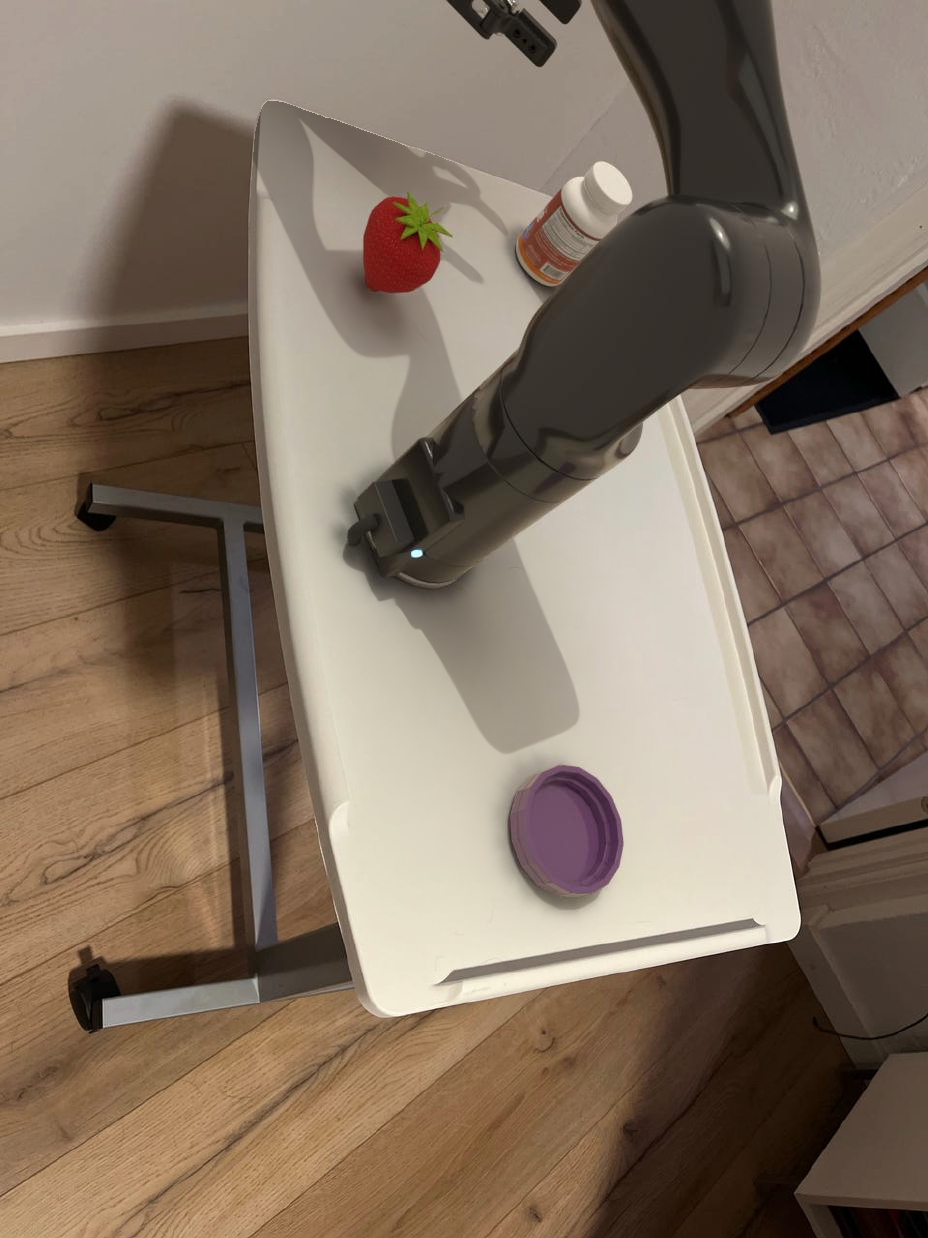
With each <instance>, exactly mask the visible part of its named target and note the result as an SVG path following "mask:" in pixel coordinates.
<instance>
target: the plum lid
mask: <svg viewBox="0 0 928 1238" xmlns="http://www.w3.org/2000/svg"><path fill="white" fill-rule="evenodd" d="M509 820H510V835H511V843H512V847H513V848H514V852H515V854H516V856H517V859H518V862H519V864H520V867H521V868H522V869H523V870H524V871H525V872H526V874H527V875H528V876H529V878H530V879H531V881H533V882H534V884H535V885H536V886H537V887H539V888H540V889H542V890H544V891H546V892H548V893H550V894H552V895H553V896H555V897H565V898H566V897H567V898H568V897H571V898H576V897H577V898H578V897H582V896H588V895H592V894H594V893H596V892H598V891H599V890H601V889H603V888H605V887H606V886H608V885H609V884H610V882H611V881H612V879H613V877H614V876H615V874H616V873H617V872H618V870H619V868H620V865H621V862H622V861H621V860H622V855H623V850H624V845H625V844H624V843H625V842H624V841H625V840H624V833H623V825H622V818H621V815H620V813H619V811H618V809H617V806H616V803H615V802H614V798H613V796H612V795H611V794H610V792H609V791H608V789H606V787H605V786H604V784H602V782H601V781H600V780H599V778H597V777H596V776H594V775H593V774H592V773H589V772H588V771H587V770H585V769H583V768H581V767H580V766H576V765H567V764H558V765H555V766H552V767H549V768H547V769H543V770H541V771H538V772H537V773H534V774H532V775H530V776H528V777H527V778H526V780H525V781H524V782H523V783H522V785H521V786H520V787H519V788H518V790H517V791H516V793H515V795H514V799H513V802H512V807H511V811H510V815H509Z"/></svg>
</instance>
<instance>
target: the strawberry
mask: <svg viewBox="0 0 928 1238" xmlns="http://www.w3.org/2000/svg"><path fill="white" fill-rule="evenodd" d="M406 195H407V198H406V197H401V196H387V197H385V198H383V199H382V200H381V201H380V202H379V203H378V204H376V205H375V206H374V207H373V208H372V209H371V211H370V214H369V216H368V220H367V223H366V226H365V229H364V232H363V239H362V264H363V270H364V282H365V285H366V287H367V289H368V290H369V291H372V292H374V293H375V292H377V293H378V292H380V293H386V294H403V293H404V294H405V293H411V292H413V291H415V290H416V289H417V290H418V289H419V288H420V287H422V286H424V285H425V284H427V283H429V282H430V281H431V280H432V278H433V277H434V275H435V273H436V271H437V269H438V268H439V265H440V263H441V256H442V253H444V250H443V247H442V244H441V240H440V237H439V234H441V235H444V236H447V237H451V238H453V237H454V236H453V235H452V234H451V233H450V232H449V231H447V230H446V229H445V228H444V227H443V226H442V225H441V224H440V223H438V222H433V221H432V219H431V218H432V217H433V216H435V215H436V214H437V213H439V212H440V211H442V210H443V209H444V208H445V206H444V205H443V206H442V207H440V208H438V209H437V210H436V211H434V212H433V213H432V214H430V212H429V206H428V205H429V204H428V201H426V202H424V204H423V205H422V207H420V205H419V204H418V202H416V200H415V199H414V197H413V196H412V194H410V192H409V191H407V192H406ZM438 233H439V234H438ZM441 252H442V253H441Z"/></svg>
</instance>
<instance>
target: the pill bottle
mask: <svg viewBox="0 0 928 1238" xmlns="http://www.w3.org/2000/svg"><path fill="white" fill-rule="evenodd" d="M632 200H633V191H632V188H631V185H630V183H629V181H628V180H627V179H626V177H625V175H624V174H622V173H621V171H620V170H619V169H618V168H616V167H615V166H614V165H612V164H611V163H609V162H606V161H596V162H595V163H594V164H593V165H592V166H590V168H588V170H587V171H586V173H585V174H584V176H576V177H573V178H571V179H569V180H568V181H566V182H565V184H564V185H563V186H562V187H561V188H560V189H559V191H557V193H556V194H555V195H554V196H553V197H552V198H551V199H550V201H549V202H547V204H546V205H545V206H544V208H543V209H542V210H540V212H539V213H538V214H537V215H536V216H535V218H534V219H533V220H532V221H530V223H529V225H527V227H526V228H525V229H524V230H523V231H522V232H521V233H520V234H519V236H518V238H517V240H516V243H515V251H516V252H515V253H516V256H517V257H516V258H517V259H518V262H519V263H520V265H521V266H522V268H523V270H524V271H525V272H526V273H527V274H528V275H529V276H530V277H531V278H532V279H533V280H534V281H536V282H537V283H539V284H541V285H544V286H547V287H558V286H559V285H560V284H561V283H562V282H563V281H564V280H565V278H566V277H567V276H568V275H569V274H570V273H571V272H572V271H573V270H574V269H575V267H576V266H577V265H578V264H579V263H580V262H581V261H582V260H583V259H584V257H585V256H586V255H587V254H588V253H589V252H590V251H591V250H592V249H593V248H594V247H595V246H596V245H597V243H598V242H599V241H600V240H601V239H602V238H603V237H604V236H605V235H606V234H607V233H608V232H609V231H610V230H611V229H613V228H614V227H615V226H616V225H617V224H618V216H619V215H620V214H621V213H623V212H624V210H625V209H626V208H627V207H628V206H629V205H630V204H631V203H632Z"/></svg>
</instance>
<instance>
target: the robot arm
mask: <svg viewBox="0 0 928 1238" xmlns="http://www.w3.org/2000/svg"><path fill="white" fill-rule="evenodd" d="M445 1H446V2H447V3H448V4H449V5H450V6H451V7H452V8H453V9H454V10H455V11H456V12H457V13H458V14H459V15H460V16H461V17H462V18H463V20H465V21H466V22H467V23H468V24H469V25H470V26H471V28H473V30H474V31H475V32H476V33H477V34H478V35H479V36H480V37H481V38H483V39H484V40H486V41H487V40H488V41H489V40H491V37H492V36H493V35H494V34H495V35H496V36H498V37H503V35H504V36H505V38H506V39H508V41H509V42H510V43H512V44H513V45H514V46H515V47H516V48H517V49H518V50H519V51H520V52H521V53H522V54H523V55H524V56H525V57H526V58H527V59H528V60H529V61H530V62H531V63H532V64H533V65H534V66H535V67H537V68H543V67H544V66H545V64H546V63H547V62H548V61H549V59H550V58H551V56H552V55H554V53H555V51H556V50H557V47H558V42H557V39H556V38H555V37H554V36H553V35H552V34H551V33H550V32H549V31H548V30H547V29H546V28H545V27H544V26H543V25H542V24H541V23H540V22H539V21H538V20H537V19H536V18H535V17H534V16H533V15H532V14H531V13H530V12H529V11H528V10H527V9H526V8H525V7H523V8H522V6H521V3H520V1H519V0H445ZM538 1H539V2H540V3H541V4H542V5H543V6H544V7H545V8H546V9H547V10H548V11H549V12H550V13H551V14H552V15H553V16H554V17H555V18H556V19H557V20H558V21H559V22H560V23H561V24H562V25H568V24H570V22H571V21H572V19H574V17H575V15H576V14H578V12H579V10H580V8H581V7H582V5H583V1H582V0H538ZM589 1H590V3H591V6H592V8H593V10H594V13H595V15H596V17H597V20H598V22H599V24H600V26H601V28H602V30H603V32H604V34H605V36H606V38H607V40H608V42H609V44H610V46H611V48H612V50H613V52H614V53H615V56H616V57H617V60H618V61H619V63H620V65H621V67H622V69H623V71H624V72H625V74H626V77H627V79H628V80H629V82H630V84H631V86H632V88H633V90H634V91H635V93H636V95H637V98H638V100H639V102H640V103H641V106H642V108H643V110H644V112H645V114H646V116H647V118H648V121H649V124H650V126H651V129H652V131H653V135H654V137H655V141H656V145H657V148H658V152H659V156H660V161H661V165H662V171H663V176H664V183H665V188H666V195H663V196H661V197H657V198H655V199H653V200H650V201H649V202H646V203H645V204H643V205H641V206H640V207H638V208H636V209H635V210H633V211H632V212H630V213H629V214H628V215H627V216H625V217H624V218H622V219H621V220H620V221H619V222H617V224H616V226H615V227H614V228H613V229H611V230H610V231H609V232H608V233H607V234H606V235H605V236H604V237H603V238H602V239H601V240H600V241H599V242H598V243H597V245H596V246H595V247H594V248H593V249H592V250H591V251H590V252H589V253H588V254H587V255H586V256H585V257H584V259H583V260H582V261H581V262H580V263H579V264H578V265H577V266H576V267H575V269H574V270H573V271H572V272H571V273H570V274H569V275H568V276H567V277H566V278H565V280H564V281H563V282H562V283H561V284H559V285H557V286H556V288H555V290H554V291H552V293H551V294H550V295H549V296H548V297H547V299H546V300H544V302H543V303H541V305H540V306H539V308H538V309H537V310H536V311H535V313H534V314H533V315H532V317H531V319H530V320H529V322H528V324H527V326H526V329H525V331H524V333H523V335H522V339H521V341H520V343H519V346H518V347H517V348H516V349H515V350H514V351H513V352H512V354H510V355H509V357H508V358H507V359H506V360H505V361H504V362H503V363H501V365H499V366H498V367H497V368H496V369H495V370H494V371H493V372H492V373H491V374H490V375H489V376H488V377H487V378H486V379H485V380H484V381H482V383H481V384H479V386H478V387H476V388H475V389H474V391H472V392H471V393H470V394H469V395H468V396H467V397H466V398H465V399H464V400H463V401H462V402H461V403H460V404H458V406H457V407H456V408H455V409H453V410H452V412H450V413H449V414H448V415H447V416H446V417H445V418H444V419H443V420H442V421H441V422H440V423H439V424H438V425H436V427H435V428H434V429H432V431H431V432H430V433H429V434H427V435H426V436H424V437H420V438H417V439H416V441H414V442H413V444H411V445H410V446H409V447H408V448H407V449H406V450H405V451H404V452H403V453H402V454H401V455H399V457H398V458H397V459H396V460H395V461H394V462H393V463H392V464H391V465H390V466H389V467H388V468H387V469H386V470H385V471H384V472H383V473H382V474H380V476H379V477H378V478H376V479H375V481H373V482H372V483H371V484H370V485H368V486H367V487H366V488H365V489H364V490H363V491H362V492H361V493H360V494H359V495H358V496H357V498H356V499H355V500H354V507H355V509H356V511H357V514H358V516H359V520H358V521H356V522H355V523H353V525H351V526H350V527H349V528H348V530H347V535H346V539H347V540H346V541H347V542H346V543H348V545H349V546H351V547H358V546H359V545H360V544H361V541H362V536H364V535H365V536H366V537H365V538H366V539H367V543H368V545H369V546H370V548H371V551H372V554H373V557H374V560H375V562H376V565H377V567H378V571H379V572H380V574H381V576H382V577H384V578H389V577H396V578H398V579H399V580H401V581H403V582H405V583H407V584H409V585H412V586H414V587H418V588H422V589H441V588H444V587H447V586H449V585H451V584H453V583H454V582H456V581H458V580H459V579H460V578H461V577H462V576H463V575H464V574H465V573H466V572H468V571H469V570H470V569H472V568H473V567H475V566H476V565H478V564H479V563H481V562H482V561H483V560H484V559H486V558H487V557H488V556H490V555H492V554H493V553H494V552H496V551H497V550H499V549H500V548H501V547H503V546H504V545H505V544H507V543H508V542H510V541H511V540H512V539H514V538H515V537H517V536H518V535H519V534H521V533H523V532H524V531H525V530H526V529H529V528H530V527H531V526H532V525H534V524H535V523H537V522H538V521H540V520H541V519H542V518H544V517H545V516H546V515H548V514H550V513H551V512H553V510H556V508H558V507H559V506H560V505H562V504H563V503H565V502H566V501H567V500H570V499H571V498H572V497H574V496H575V495H577V494H578V493H580V492H581V491H582V490H583V489H585V488H586V487H588V486H589V485H590V484H592V483H594V482H595V481H597V479H599V478H601V477H602V476H604V475H605V474H607V473H609V472H610V471H611V470H613V469H614V468H616V467H617V466H618V465H620V464H621V463H623V462H624V461H625V460H626V459H627V458H629V457H630V456H631V455H632V453H634V451H635V449H636V448H637V447H638V445H639V443H640V440H641V437H642V433H643V428H644V422H645V421H646V420H648V419H649V418H650V417H652V416H653V415H654V414H655V413H656V412H658V411H659V410H661V409H662V408H663V407H665V406H666V405H667V404H669V403H670V402H671V401H673V400H674V399H675V398H677V397H678V396H680V395H681V394H683V393H686V391H691V390H693V391H694V390H710V389H711V390H712V389H730V388H741V387H750V386H755V385H759V384H763V383H765V382H768V381H769V382H770V381H771V380H773V379H775V378H777V377H779V376H780V375H781V374H783V373H784V372H785V371H787V370H788V369H789V368H790V367H791V366H792V365H793V364H794V363H795V362H796V360H797V359H798V358H799V357H800V356H801V355H802V353H803V352H804V350H805V348H806V346H807V345H808V343H809V341H810V339H811V336H812V334H813V331H814V330H815V327H816V324H817V320H818V317H819V314H820V313H819V312H820V307H821V301H822V289H823V288H822V281H823V280H822V267H821V260H820V253H819V248H818V243H817V237H816V233H815V230H814V225H813V221H812V216H811V212H810V207H809V203H808V200H807V195H806V192H805V191H806V190H805V186H804V182H803V178H802V174H801V169H800V164H799V160H798V156H797V152H796V148H795V144H794V138H793V134H792V130H791V126H790V125H791V124H790V120H789V116H788V110H787V106H786V102H785V101H786V100H785V95H784V89H783V84H782V83H783V82H782V77H781V68H780V62H779V51H778V42H777V31H776V21H775V14H774V6H773V0H589ZM480 14H482V15H483V16H484V17H482V16H481V15H480Z"/></svg>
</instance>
